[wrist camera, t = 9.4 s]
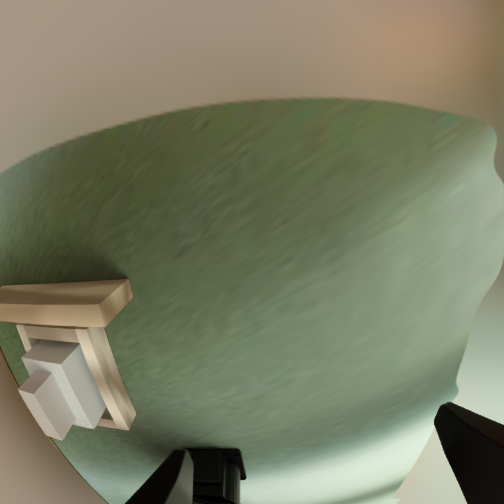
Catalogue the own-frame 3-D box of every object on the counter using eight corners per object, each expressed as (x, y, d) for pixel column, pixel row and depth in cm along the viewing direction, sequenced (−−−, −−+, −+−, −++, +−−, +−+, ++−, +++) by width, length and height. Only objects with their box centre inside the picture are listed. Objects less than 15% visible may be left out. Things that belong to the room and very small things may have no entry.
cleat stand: (169, 416, 22) (157, 454, 18) (47, 397, 22) (28, 422, 17) (129, 278, 19) (98, 304, 14) (3, 285, 19) (-29, 302, 14)
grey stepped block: (112, 395, 22) (81, 452, 14) (74, 390, 22) (40, 438, 14) (89, 334, 20) (40, 386, 13) (50, 332, 20) (1, 375, 13)
